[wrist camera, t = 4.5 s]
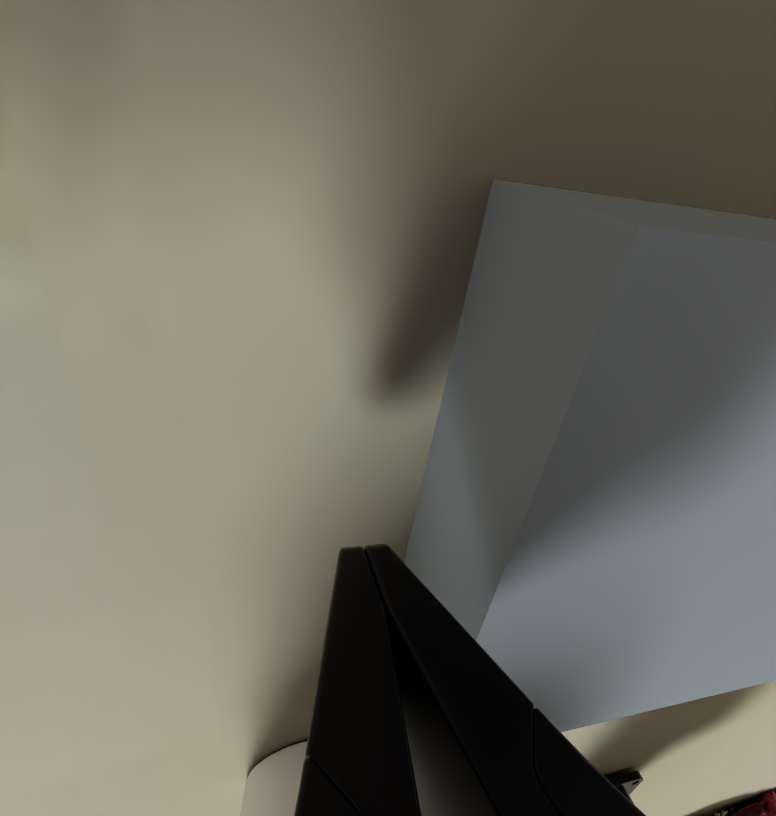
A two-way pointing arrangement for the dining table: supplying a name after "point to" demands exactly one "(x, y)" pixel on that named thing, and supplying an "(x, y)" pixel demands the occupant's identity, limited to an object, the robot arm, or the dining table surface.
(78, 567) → the dining table surface
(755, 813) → the plate with food
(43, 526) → the dining table surface
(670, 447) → the blue-grey square block
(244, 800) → the soft serve ice cream cone
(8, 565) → the dining table surface
